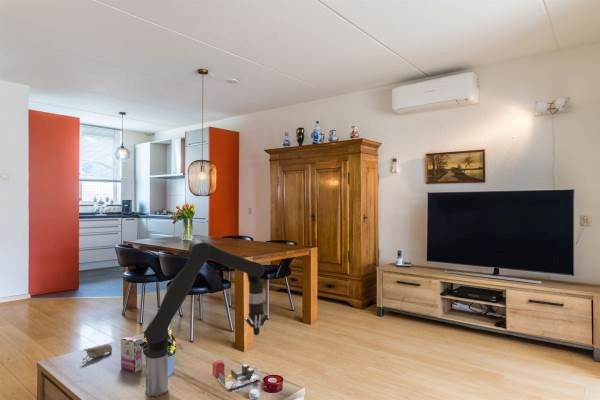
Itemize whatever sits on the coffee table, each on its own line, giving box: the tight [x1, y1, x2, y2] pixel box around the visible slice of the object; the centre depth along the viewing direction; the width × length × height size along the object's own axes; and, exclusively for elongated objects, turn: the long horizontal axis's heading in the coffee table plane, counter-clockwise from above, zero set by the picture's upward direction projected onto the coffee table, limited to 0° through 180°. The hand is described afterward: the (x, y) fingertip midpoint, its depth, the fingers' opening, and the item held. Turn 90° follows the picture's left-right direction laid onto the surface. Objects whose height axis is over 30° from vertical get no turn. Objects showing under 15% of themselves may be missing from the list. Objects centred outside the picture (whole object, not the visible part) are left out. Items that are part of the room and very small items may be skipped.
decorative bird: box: [82, 343, 113, 362], centre depth 214 cm, size 5×16×8 cm, turn 150°
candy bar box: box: [120, 335, 143, 373], centre depth 199 cm, size 11×5×16 cm, turn 62°
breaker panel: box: [217, 369, 250, 392], centre depth 186 cm, size 17×12×4 cm
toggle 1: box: [241, 363, 250, 375], centre depth 191 cm, size 2×3×4 cm
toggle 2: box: [247, 367, 255, 379], centre depth 186 cm, size 2×3×4 cm
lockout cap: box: [212, 359, 225, 378], centre depth 193 cm, size 4×4×6 cm
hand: (256, 334), depth 194 cm, fingers closed
